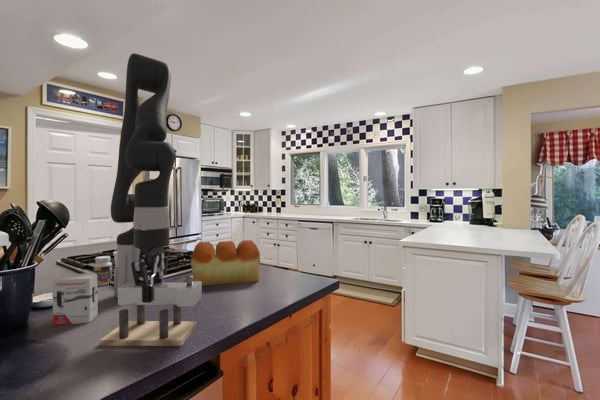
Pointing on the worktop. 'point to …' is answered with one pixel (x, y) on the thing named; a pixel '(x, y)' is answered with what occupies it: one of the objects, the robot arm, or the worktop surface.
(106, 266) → the pill bottle
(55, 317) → the ink box
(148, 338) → the rack
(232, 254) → the bread
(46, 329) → the worktop surface
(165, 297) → the grey pegged bar
